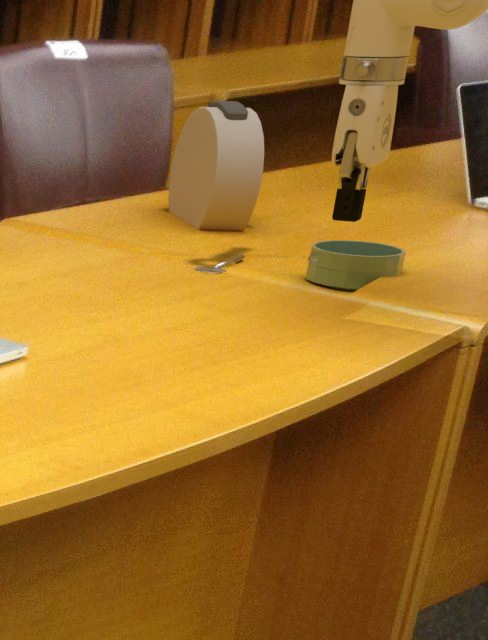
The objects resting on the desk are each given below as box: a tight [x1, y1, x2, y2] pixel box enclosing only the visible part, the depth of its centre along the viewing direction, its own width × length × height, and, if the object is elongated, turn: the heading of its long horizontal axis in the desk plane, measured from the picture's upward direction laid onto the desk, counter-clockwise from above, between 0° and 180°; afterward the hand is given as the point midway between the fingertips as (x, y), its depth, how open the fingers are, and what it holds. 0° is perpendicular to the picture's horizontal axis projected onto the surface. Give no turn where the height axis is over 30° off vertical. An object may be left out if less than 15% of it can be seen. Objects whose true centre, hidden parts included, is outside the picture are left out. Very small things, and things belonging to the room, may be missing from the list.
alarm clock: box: [167, 100, 265, 232], centre depth 252 cm, size 21×8×20 cm, turn 179°
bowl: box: [304, 239, 407, 292], centre depth 216 cm, size 12×12×5 cm
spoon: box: [193, 253, 245, 274], centre depth 226 cm, size 16×4×1 cm, turn 141°
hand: (346, 219), depth 202 cm, fingers closed
